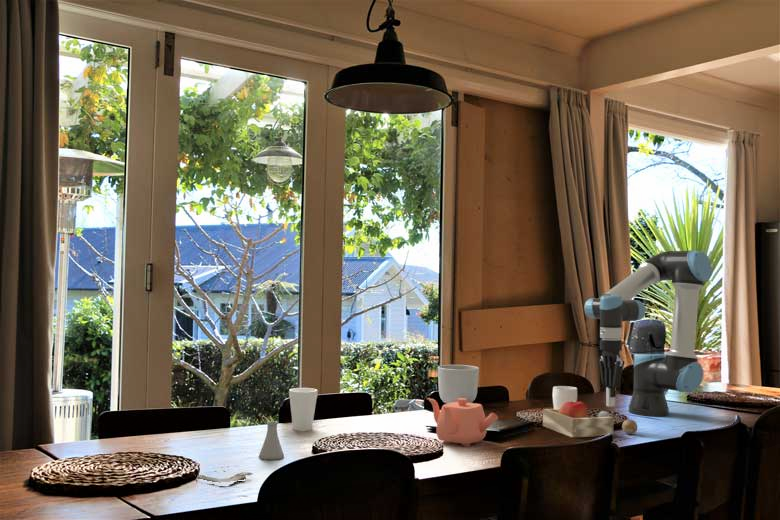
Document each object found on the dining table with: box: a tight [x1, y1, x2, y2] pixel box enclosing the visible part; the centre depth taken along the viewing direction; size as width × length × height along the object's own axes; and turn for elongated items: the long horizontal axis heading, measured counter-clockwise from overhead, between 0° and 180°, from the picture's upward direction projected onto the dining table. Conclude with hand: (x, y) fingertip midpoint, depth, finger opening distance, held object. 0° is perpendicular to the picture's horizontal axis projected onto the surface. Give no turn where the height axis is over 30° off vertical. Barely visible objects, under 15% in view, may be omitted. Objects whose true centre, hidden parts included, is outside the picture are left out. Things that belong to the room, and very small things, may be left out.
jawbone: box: [197, 471, 253, 483], centre depth 192 cm, size 9×20×2 cm, turn 78°
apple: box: [559, 400, 589, 418], centre depth 267 cm, size 10×10×10 cm
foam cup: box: [288, 387, 318, 432], centre depth 258 cm, size 10×9×13 cm
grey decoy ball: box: [597, 410, 611, 417], centre depth 280 cm, size 4×4×4 cm
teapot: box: [426, 397, 499, 447], centre depth 243 cm, size 18×18×14 cm
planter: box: [437, 364, 480, 404], centre depth 313 cm, size 17×17×15 cm
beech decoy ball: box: [621, 418, 639, 435], centre depth 262 cm, size 5×5×5 cm
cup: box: [551, 385, 578, 409], centre depth 285 cm, size 9×9×12 cm
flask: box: [258, 420, 285, 461], centre depth 217 cm, size 7×7×10 cm
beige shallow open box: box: [542, 408, 614, 438], centre depth 266 cm, size 16×19×6 cm
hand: (610, 405), depth 270 cm, fingers closed
